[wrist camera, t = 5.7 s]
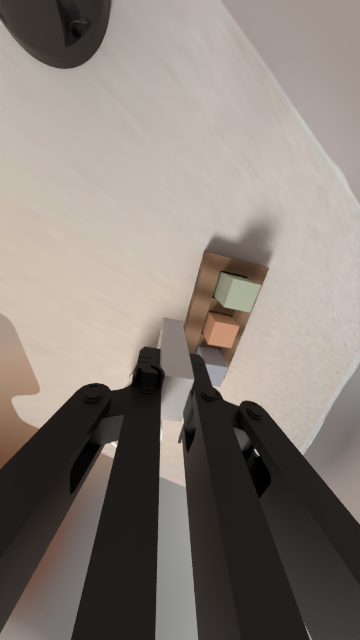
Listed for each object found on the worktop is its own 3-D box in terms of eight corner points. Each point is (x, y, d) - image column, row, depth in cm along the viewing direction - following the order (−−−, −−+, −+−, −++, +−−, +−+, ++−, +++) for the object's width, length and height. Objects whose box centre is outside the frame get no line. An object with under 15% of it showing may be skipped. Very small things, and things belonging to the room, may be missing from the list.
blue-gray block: (198, 344, 43) (204, 363, 36) (218, 347, 43) (228, 367, 36) (192, 361, 44) (197, 383, 38) (211, 364, 45) (220, 386, 38)
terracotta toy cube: (207, 308, 41) (215, 321, 34) (227, 312, 42) (239, 326, 35) (201, 328, 43) (207, 344, 36) (220, 331, 44) (231, 348, 37)
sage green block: (220, 272, 37) (233, 278, 30) (243, 277, 37) (261, 285, 30) (213, 295, 38) (223, 307, 31) (235, 300, 39) (250, 312, 32)
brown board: (204, 251, 37) (207, 251, 34) (261, 266, 39) (269, 267, 36) (173, 363, 47) (174, 371, 44) (220, 371, 49) (224, 378, 46)
